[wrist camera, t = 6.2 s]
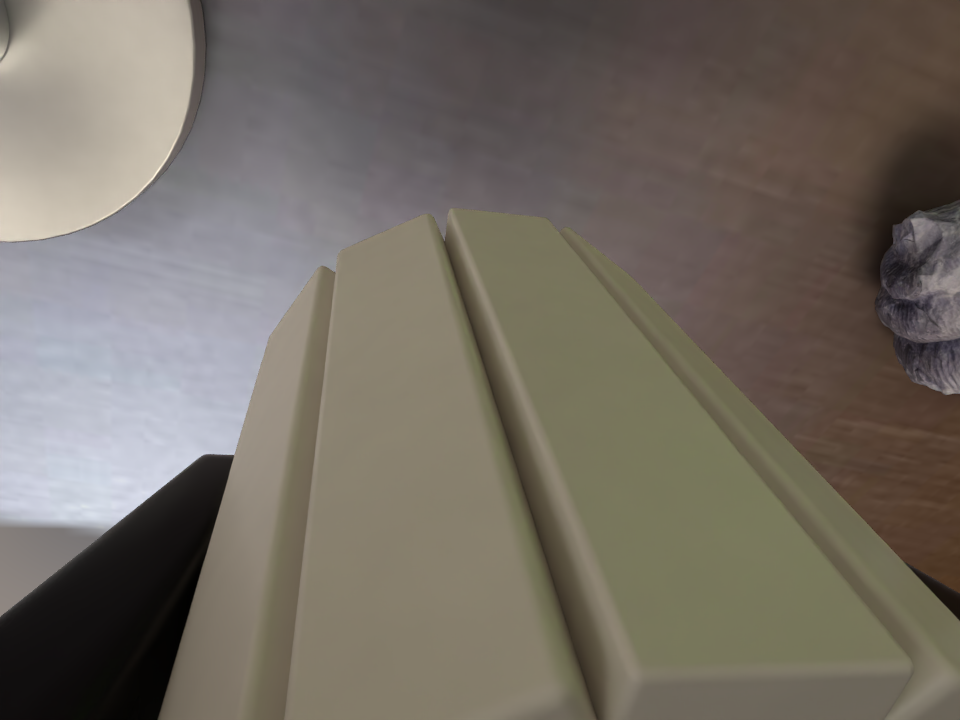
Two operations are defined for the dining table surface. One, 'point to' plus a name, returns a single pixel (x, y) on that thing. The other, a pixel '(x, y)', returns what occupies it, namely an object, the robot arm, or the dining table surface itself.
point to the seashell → (925, 296)
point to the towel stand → (91, 106)
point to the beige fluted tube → (533, 515)
